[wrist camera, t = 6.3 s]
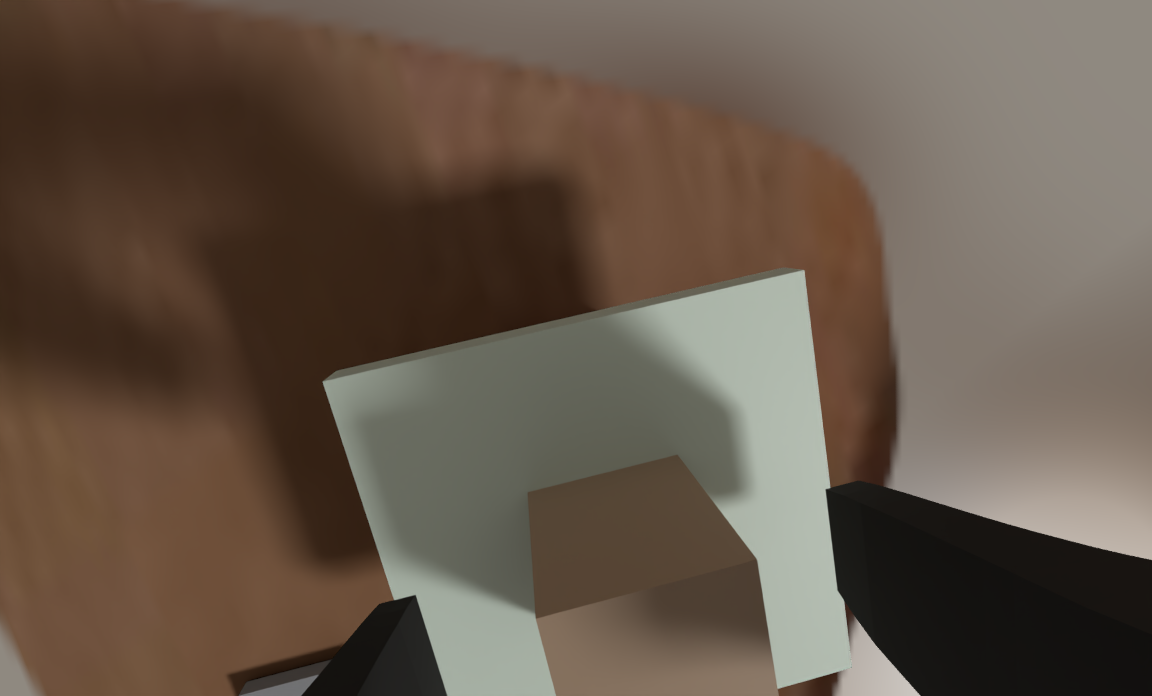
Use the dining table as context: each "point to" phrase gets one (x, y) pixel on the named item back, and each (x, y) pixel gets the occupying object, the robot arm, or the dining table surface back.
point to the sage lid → (610, 497)
